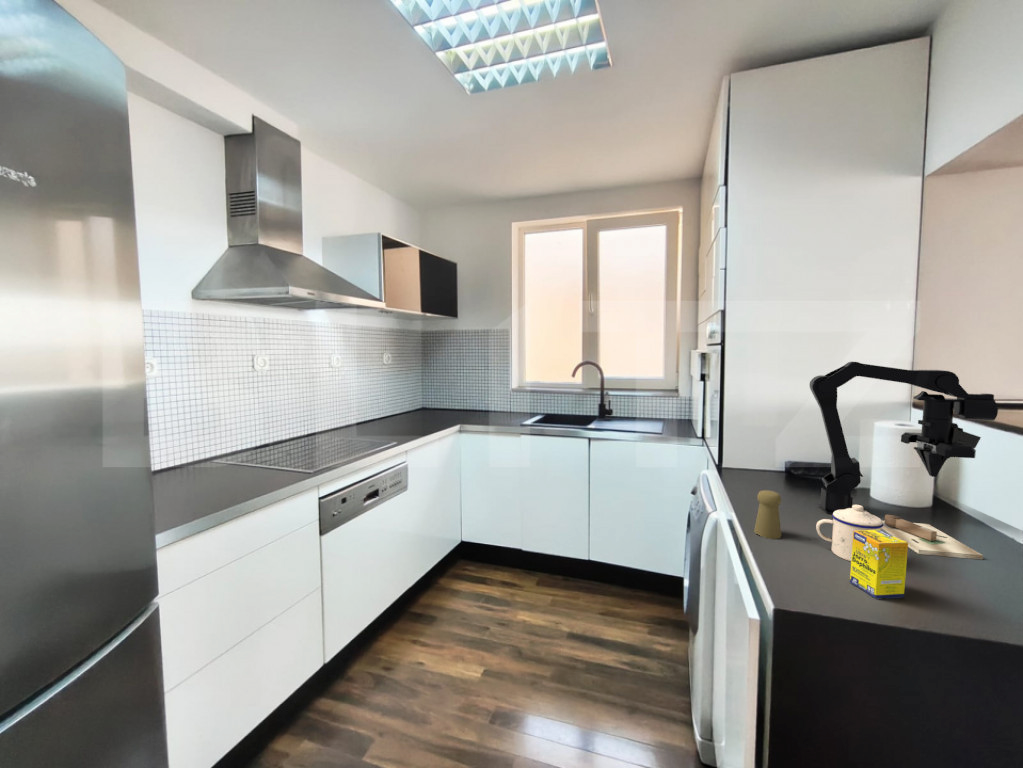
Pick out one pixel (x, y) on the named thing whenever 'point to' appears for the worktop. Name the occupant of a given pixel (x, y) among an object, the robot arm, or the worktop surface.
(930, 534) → the walnut lever
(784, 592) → the worktop surface
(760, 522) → the cork
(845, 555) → the teacup with lid
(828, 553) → the worktop surface
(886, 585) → the supplement box
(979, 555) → the dial plate
